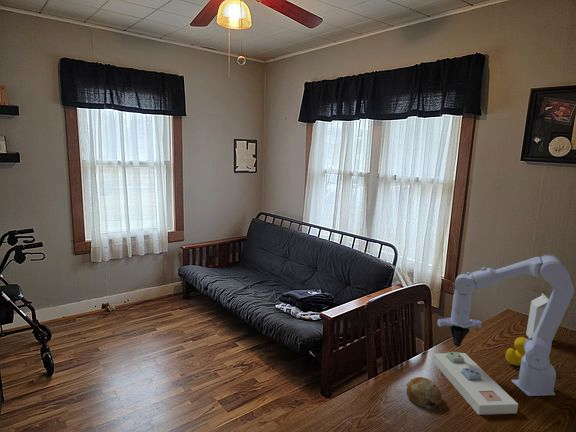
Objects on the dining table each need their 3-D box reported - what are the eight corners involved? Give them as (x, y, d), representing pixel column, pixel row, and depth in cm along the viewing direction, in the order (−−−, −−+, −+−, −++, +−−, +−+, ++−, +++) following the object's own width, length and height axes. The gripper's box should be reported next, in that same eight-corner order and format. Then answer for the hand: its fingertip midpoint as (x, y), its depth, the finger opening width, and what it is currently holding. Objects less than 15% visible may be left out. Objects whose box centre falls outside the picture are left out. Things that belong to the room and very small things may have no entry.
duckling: (523, 357, 140) (527, 333, 139) (536, 365, 135) (540, 340, 134) (499, 361, 137) (503, 336, 135) (512, 370, 132) (516, 344, 130)
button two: (457, 358, 134) (457, 351, 134) (463, 364, 130) (464, 357, 130) (446, 358, 134) (447, 351, 134) (452, 364, 130) (453, 357, 130)
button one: (491, 398, 115) (492, 391, 115) (499, 407, 111) (501, 399, 111) (479, 399, 115) (480, 391, 114) (487, 408, 111) (488, 400, 110)
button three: (473, 374, 125) (474, 367, 124) (480, 381, 121) (481, 374, 120) (461, 374, 124) (462, 367, 124) (468, 382, 120) (469, 374, 120)
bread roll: (413, 417, 112) (422, 403, 107) (397, 385, 120) (405, 371, 115) (441, 412, 114) (451, 398, 110) (424, 381, 122) (433, 367, 118)
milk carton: (531, 342, 153) (538, 298, 149) (525, 334, 159) (532, 291, 156) (551, 345, 151) (558, 300, 147) (545, 337, 157) (552, 294, 154)
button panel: (463, 360, 137) (464, 352, 137) (516, 413, 110) (518, 404, 109) (432, 361, 136) (433, 353, 135) (478, 414, 108) (479, 405, 108)
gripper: (445, 313, 125) (441, 350, 127) (488, 314, 125) (483, 351, 127) (436, 304, 132) (432, 340, 134) (477, 305, 132) (472, 341, 134)
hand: (456, 345), depth 131 cm, fingers closed
